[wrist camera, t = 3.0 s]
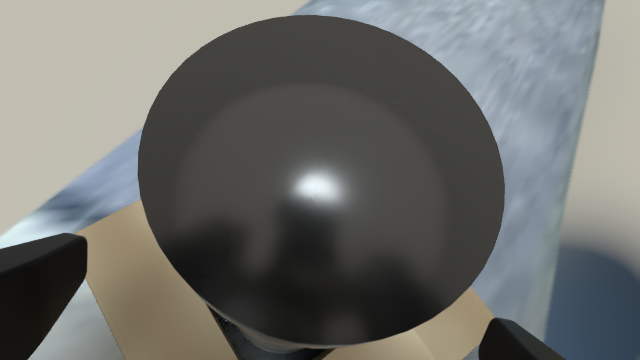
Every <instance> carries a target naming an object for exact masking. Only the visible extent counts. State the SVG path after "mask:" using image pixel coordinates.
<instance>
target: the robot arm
mask: <svg viewBox="0 0 640 360" xmlns="http://www.w3.org/2000/svg"><path fill="white" fill-rule="evenodd" d="M87 260H88V242H87V239H86V238H85V237H84V236H81V235H76V234H71V233H62V234H58V235H54V236H50V237H46V238H42V239H38V240H34V241H30V242H26V243H22V244H18V245H14V246H10V247H6V248H2V249H0V360H28V358H29V357H30V356H31V355H32V354H33V352H34V351H35V350H36V349H37V347H38V346H39V345H40V344H41V342H42V341H43V340H44V338H45V337H46V336H47V334H48V333H49V331H50V330H51V328H52V327H53V325H54V324H55V322H56V321H57V320H58V318H59V317H60V315H61V314H62V312H63V311H64V309H65V308H66V306H67V305H68V303H69V302H70V300H71V299H72V297H73V296H74V294H75V293H76V291H77V290H78V288H79V287H80V285H81V284H82V283H83V281H84V279H85V277H86V274H87ZM478 356H479V360H566V359H565V358H563V357H562V356H561V355H559V354H558V353H557V352H555V351H554V350H552V349H551V348H550V347H548V346H547V345H546V344H544V343H543V342H541V341H540V340H539V339H537V338H536V337H534V336H533V335H532V334H530V333H529V332H528V331H526V330H525V329H523V328H522V327H521V326H519V325H518V324H517V323H515V322H514V321H511V320H508V319H503V318H497V317H495V318H493V319H491V321H490V322H489V324H488V327H487V329H486V331H485V334H484V336H483V338H482V340H481V343H480V345H479V350H478Z"/></svg>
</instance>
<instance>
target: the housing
mask: <svg viewBox="0 0 640 360" xmlns="http://www.w3.org/2000/svg"><path fill="white" fill-rule="evenodd" d="M74 234H76V235H81V236H84V237H85V238H86V239H87V242H88V260H87V274H86V277H85V279H86V281H87V283H88V285H89V287H90V289H91V291H92V293H93V295H94V297H95V299H96V301H97V303H98V305H99V307H100V309H101V311H102V313H103V315H104V317H105V320H106V322H107V324H108V326H109V328H110V330H111V332H112V334H113V336H114V338H115V340H116V342H117V344H118V346H119V348H120V350H121V352H122V354H123V356H124V358H125V360H241V358H240V356H239V354H238V353H237V351H236V349H235V348H234V346H233V344H232V342H231V341H230V339H229V337H228V336H227V334H226V332H225V330H224V329H223V327H222V325H221V323H220V322H219V320H218V318H217V317H216V315H215V313H214V311H213V310H212V308H211V307H209V306H208V305H207V304H206V303H205V302H204V301H203V300H202V299H201V298H200V297H199V296H198V295H197V294H196V293H195V292H194V290H193V289H192V288H191V287H190V286H189V285H188V284H187V283H186V282H185V280H184V279H183V278H182V277H181V276H180V275H179V274H178V272H177V271H176V270H175V269H174V268H173V266H172V265H171V263H170V262H169V260H168V259H167V257H166V256H165V254H164V253H163V251H162V250H161V248H160V247H159V245H158V243H157V241H156V239H155V237H154V235H153V232H152V230H151V228H150V226H149V224H148V221H147V218H146V215H145V211H144V208H143V204H142V201H141V199H140V200H139V201H137V202H135V203H133V204H131V205H129V206H127V207H125V208H123V209H121V210H119V211H117V212H115V213H113V214H111V215H109V216H107V217H106V218H104V219H102V220H100V221H98V222H96V223H94V224H92V225H90V226H88V227H86V228H84V229H82V230H80V231H78V232H76V233H74ZM493 318H495V316H494V315H493V314H492V313H491V311H490V310H489V309H488V308H487V306H486V305H485V304H484V303H483V301H482V300H481V299H480V298H479V296H478V295H477V294H476V293H475V291H474V290H473V289H472V288H471V286H470V287H469V288H468V289H467V290H466V291H465V292H464V293H463V294H462V295H461V296H460V297H459V298H458V299H457V300H456V301H455V302H454V303H453V304H452V305H451V306H449V307H448V308H446V309H445V310H444V311H442V312H441V313H439V314H438V315H437V316H435V317H434V318H433V319H431V320H429V321H427V322H425V323H423V324H421V325H419V326H417V327H415V328H413V329H411V330H409V331H407V332H403V333H400V334H397V335H394V336H391V337H388V338H385V339H382V340H378V341H374V342H370V343H365V344H361V345H355V346H349V347H343V348H329V349H325V350H324V351H323V352H322V353H320V354H319V355H318V356H316V357H315V358H314V359H313V360H462V359H463V358H464V357H465V356H467V355H468V354H469V353H470V352H471V351H472V350H473V349H474V348H475V347H476V346H477V345H478V344H479V343H481V340H482V338H483V336H484V334H485V331H486V329H487V327H488V324H489V322H490V321H491V319H493Z"/></svg>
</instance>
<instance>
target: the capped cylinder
mask: <svg viewBox="0 0 640 360" xmlns="http://www.w3.org/2000/svg"><path fill="white" fill-rule="evenodd" d="M138 181H139V188H140V196H141V201H142V204H143V208H144V211H145V215H146V218H147V221H148V224H149V226H150V228H151V230H152V232H153V235H154V237H155V239H156V241H157V243H158V245H159V247H160V248H161V250H162V251H163V253H164V254H165V256H166V257H167V259H168V260H169V262H170V263H171V265H172V266H173V268H174V269H175V270H176V271H177V272H178V274H179V275H180V276H181V277H182V278H183V279H184V280H185V282H186V283H187V284H188V285H189V286H190V287H191V288H192V289H193V290H194V292H195V293H196V294H197V295H198V296H199V297H200V298H201V299H202V300H203V301H204V302H205V303H206V304H207V305H208V306H209V307H211V308H212V309H213V310H214V311H216V312H217V313H218V314H219V315H220V316H222V317H223V318H225V319H226V320H228V321H230V322H231V323H233V324H235V325H236V326H237V327H238V328H239V330H240V331H241V333H242V334H243V336H244V337H245V338H246V339H247V340H248V341H249V342H251V343H252V344H253V345H255V346H256V347H258V348H260V349H262V350H265V351H268V352H271V353H278V354H285V353H292V352H296V351H299V350H302V349H304V348H312V349H329V348H343V347H349V346H355V345H361V344H365V343H370V342H374V341H378V340H382V339H385V338H388V337H391V336H394V335H397V334H400V333H403V332H407V331H409V330H411V329H413V328H415V327H417V326H419V325H421V324H423V323H425V322H427V321H429V320H431V319H433V318H434V317H435V316H437V315H438V314H439V313H441V312H442V311H444V310H445V309H446V308H448V307H449V306H451V305H452V304H453V303H454V302H455V301H456V300H457V299H458V298H459V297H460V296H461V295H462V294H463V293H464V292H465V291H466V290H467V289H468V288H469V287H470V286H471V285H472V283H473V282H474V280H475V279H476V278H477V276H478V275H479V274H480V272H481V271H482V270H483V268H484V266H485V264H486V262H487V260H488V258H489V256H490V255H491V253H492V251H493V249H494V246H495V243H496V240H497V237H498V234H499V231H500V228H501V222H502V216H503V211H504V194H505V184H504V175H503V166H502V162H501V158H500V154H499V150H498V146H497V143H496V141H495V138H494V136H493V133H492V130H491V128H490V126H489V124H488V122H487V120H486V118H485V116H484V115H483V113H482V111H481V109H480V108H479V106H478V105H477V103H476V102H475V100H474V99H473V97H472V96H471V95H470V93H469V92H468V91H467V90H466V88H465V87H464V86H463V85H462V84H461V83H460V81H459V80H458V79H457V78H456V77H455V76H454V75H453V74H452V73H451V72H450V71H449V70H447V69H446V68H445V67H444V66H443V65H442V64H441V63H440V62H438V61H437V60H436V59H434V58H433V57H432V56H431V55H429V54H428V53H427V52H425V51H423V50H422V49H420V48H419V47H417V46H415V45H414V44H412V43H411V42H409V41H407V40H405V39H403V38H401V37H399V36H397V35H395V34H393V33H391V32H388V31H385V30H383V29H380V28H378V27H375V26H372V25H369V24H365V23H361V22H358V21H354V20H349V19H343V18H338V17H330V16H318V15H295V16H286V17H277V18H272V19H267V20H263V21H258V22H254V23H251V24H248V25H245V26H242V27H239V28H237V29H234V30H232V31H230V32H228V33H226V34H223V35H221V36H219V37H217V38H216V39H214V40H212V41H211V42H209V43H208V44H206V45H204V46H203V47H201V48H200V49H199V50H198V51H197V52H195V53H194V54H193V55H191V56H190V57H189V58H187V59H186V60H185V61H184V62H183V63H182V64H181V66H180V67H178V68H177V70H176V71H175V72H174V73H173V74H172V75H171V76H170V78H169V79H168V80H167V82H166V83H165V85H164V86H163V87H162V89H161V90H160V91H159V93H158V95H157V97H156V99H155V101H154V103H153V105H152V107H151V108H150V111H149V114H148V116H147V119H146V122H145V125H144V127H143V130H142V136H141V141H140V146H139V152H138Z"/></svg>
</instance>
